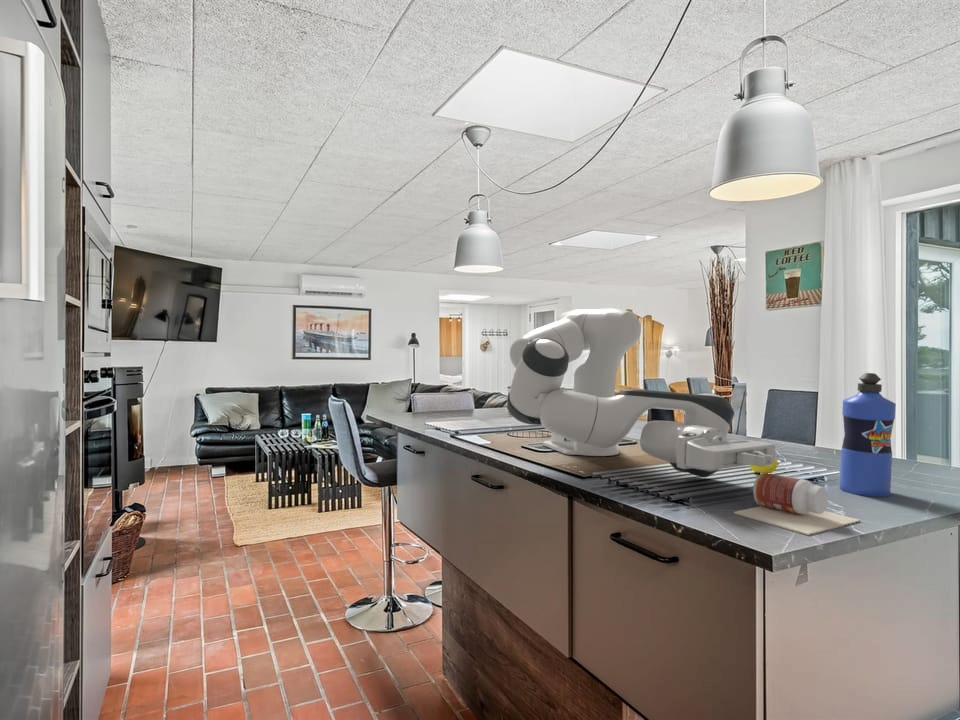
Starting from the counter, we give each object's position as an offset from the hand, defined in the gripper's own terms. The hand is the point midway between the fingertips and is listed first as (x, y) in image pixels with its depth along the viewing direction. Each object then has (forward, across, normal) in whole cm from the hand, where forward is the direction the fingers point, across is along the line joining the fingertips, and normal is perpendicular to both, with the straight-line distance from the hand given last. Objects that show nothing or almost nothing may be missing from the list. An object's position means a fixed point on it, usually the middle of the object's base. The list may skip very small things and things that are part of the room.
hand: (768, 461), depth 111 cm
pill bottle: (-2, -1, -6) cm, 6 cm away
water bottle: (+1, -32, -9) cm, 33 cm away
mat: (+6, 0, -9) cm, 11 cm away
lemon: (-19, -27, -9) cm, 34 cm away
